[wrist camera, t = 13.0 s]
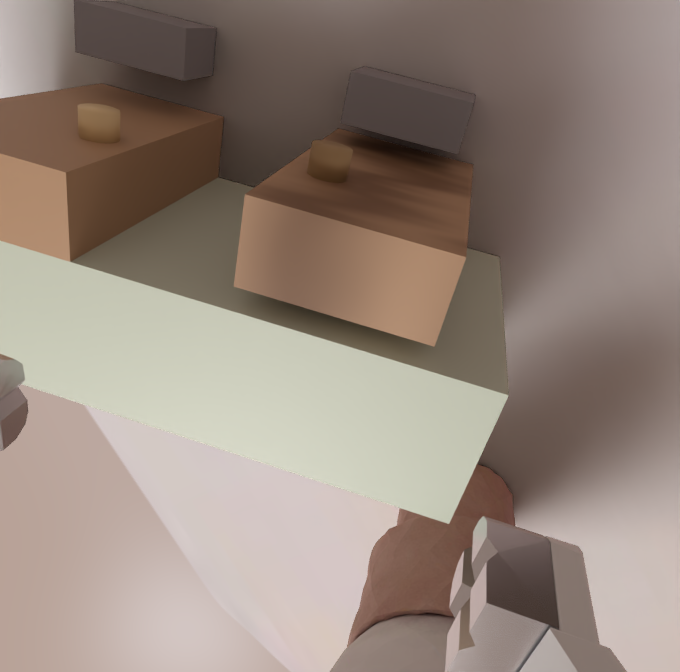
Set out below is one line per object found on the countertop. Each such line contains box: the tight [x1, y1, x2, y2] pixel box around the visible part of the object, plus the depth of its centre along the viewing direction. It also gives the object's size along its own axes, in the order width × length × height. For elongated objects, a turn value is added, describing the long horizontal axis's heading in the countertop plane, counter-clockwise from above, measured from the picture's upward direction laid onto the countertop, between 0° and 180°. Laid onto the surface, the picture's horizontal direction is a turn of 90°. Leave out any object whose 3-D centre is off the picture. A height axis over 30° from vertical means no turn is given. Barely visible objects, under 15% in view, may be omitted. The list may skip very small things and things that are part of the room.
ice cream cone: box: [330, 464, 515, 672], centre depth 27 cm, size 11×11×20 cm
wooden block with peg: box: [234, 128, 473, 347], centre depth 21 cm, size 6×4×12 cm, turn 78°
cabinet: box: [0, 0, 509, 524], centre depth 23 cm, size 24×13×12 cm, turn 78°
